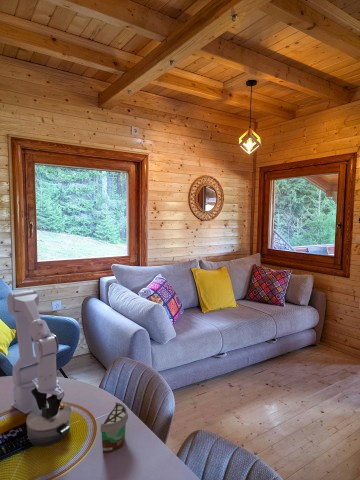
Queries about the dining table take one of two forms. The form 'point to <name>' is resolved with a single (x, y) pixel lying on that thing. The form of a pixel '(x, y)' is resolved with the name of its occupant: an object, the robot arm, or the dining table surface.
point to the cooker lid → (48, 418)
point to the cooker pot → (48, 435)
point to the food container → (114, 429)
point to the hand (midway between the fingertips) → (48, 411)
